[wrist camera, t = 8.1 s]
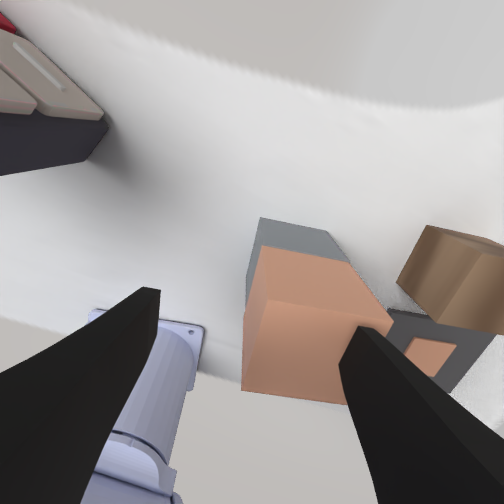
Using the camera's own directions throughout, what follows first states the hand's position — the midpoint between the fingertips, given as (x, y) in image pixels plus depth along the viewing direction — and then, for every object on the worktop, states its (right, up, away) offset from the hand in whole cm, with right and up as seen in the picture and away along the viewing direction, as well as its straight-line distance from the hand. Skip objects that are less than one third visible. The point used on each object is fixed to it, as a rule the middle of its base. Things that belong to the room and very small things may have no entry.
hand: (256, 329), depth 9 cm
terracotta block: (+2, +1, +6) cm, 6 cm away
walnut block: (+14, +2, +11) cm, 18 cm away
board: (+15, -6, +15) cm, 22 cm away
